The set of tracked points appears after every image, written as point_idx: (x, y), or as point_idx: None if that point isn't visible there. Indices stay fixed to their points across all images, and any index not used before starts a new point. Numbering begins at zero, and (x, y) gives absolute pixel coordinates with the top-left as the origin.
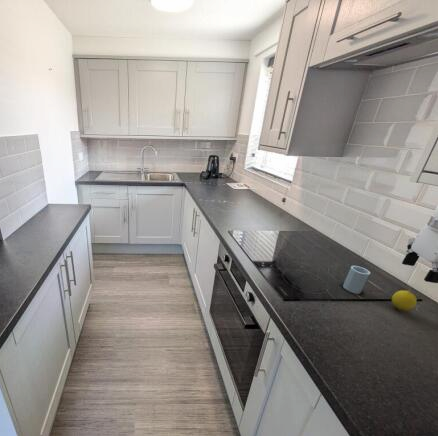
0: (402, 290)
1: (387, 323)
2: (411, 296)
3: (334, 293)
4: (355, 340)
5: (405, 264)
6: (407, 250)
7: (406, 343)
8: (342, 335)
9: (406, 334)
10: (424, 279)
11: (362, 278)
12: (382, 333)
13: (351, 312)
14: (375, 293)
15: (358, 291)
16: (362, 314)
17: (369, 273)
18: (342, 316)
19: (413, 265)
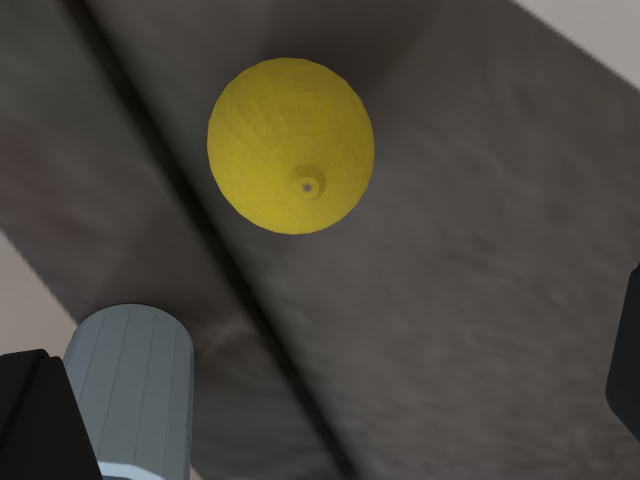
0: (260, 206)
1: (480, 257)
2: (353, 167)
3: (265, 451)
4: None
5: (97, 470)
6: None
7: (626, 226)
8: (614, 461)
9: (555, 191)
10: (626, 411)
11: (186, 461)
12: (572, 311)
13: (435, 404)
14: (94, 201)
15: (188, 347)
16: (435, 358)
17: (138, 472)
18: (484, 444)
19: (60, 369)
